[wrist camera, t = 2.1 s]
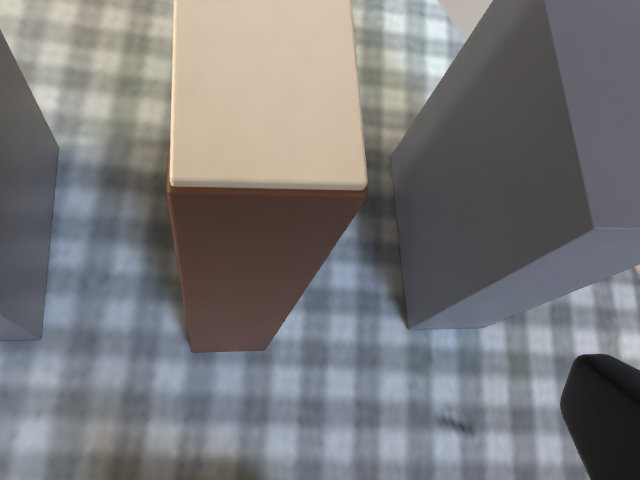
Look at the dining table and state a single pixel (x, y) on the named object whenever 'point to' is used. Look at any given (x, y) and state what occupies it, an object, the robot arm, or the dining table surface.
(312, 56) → the tan rectangular block
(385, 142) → the dining table surface
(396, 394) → the dining table surface
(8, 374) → the dining table surface
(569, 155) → the grey bookends
